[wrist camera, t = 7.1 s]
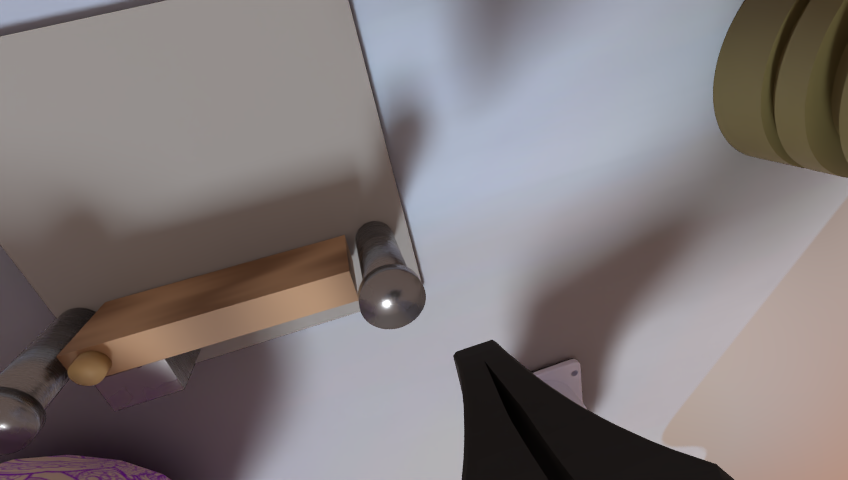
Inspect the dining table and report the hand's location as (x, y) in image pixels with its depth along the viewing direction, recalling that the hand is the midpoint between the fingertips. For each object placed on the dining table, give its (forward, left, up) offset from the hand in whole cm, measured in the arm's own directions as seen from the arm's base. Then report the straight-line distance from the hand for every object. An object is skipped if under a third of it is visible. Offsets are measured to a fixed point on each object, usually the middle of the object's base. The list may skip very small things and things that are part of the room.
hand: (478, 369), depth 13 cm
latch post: (0, +15, -10) cm, 18 cm away
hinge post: (+1, +2, -10) cm, 11 cm away
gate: (+1, +9, -10) cm, 13 cm away
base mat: (+5, +9, -10) cm, 15 cm away
